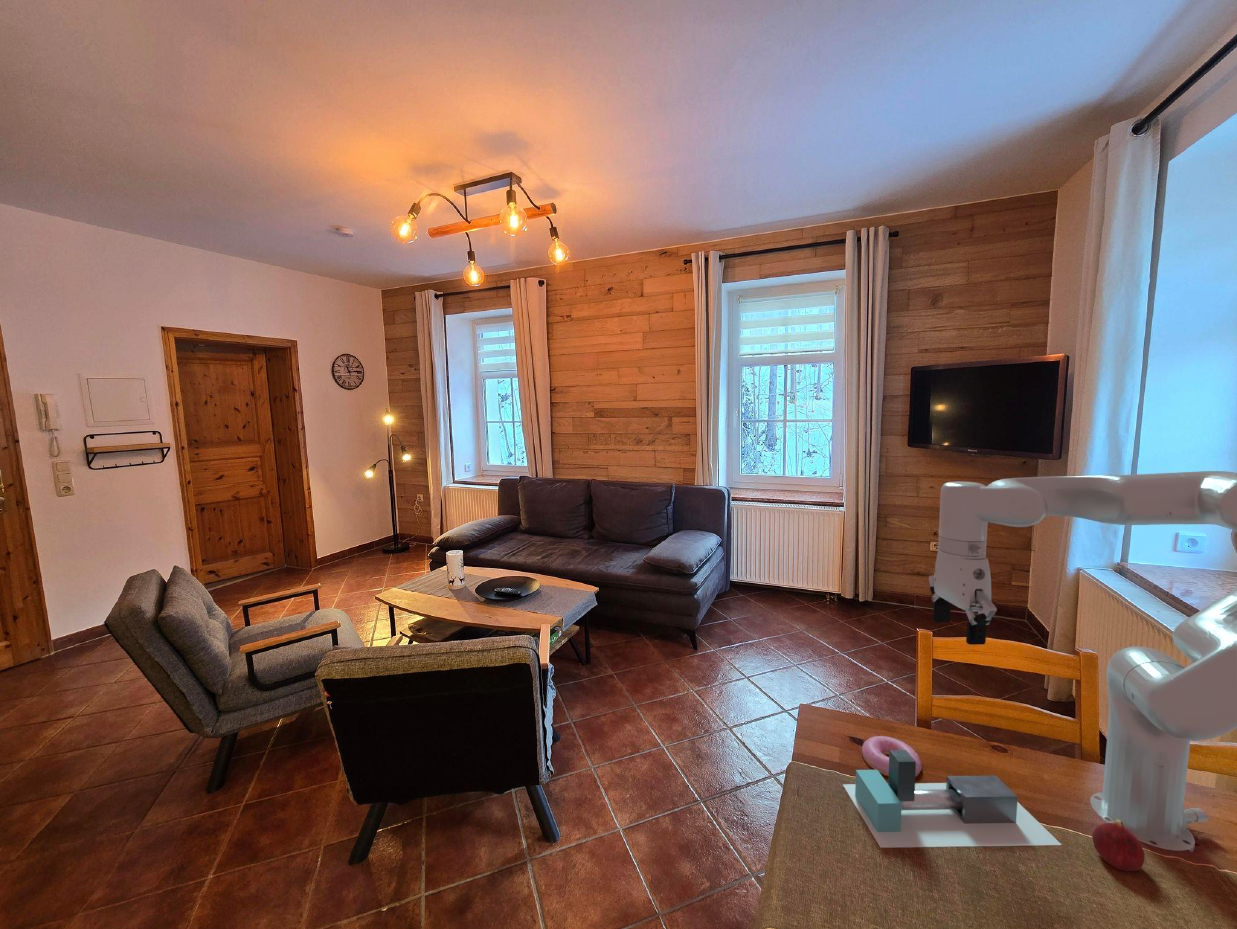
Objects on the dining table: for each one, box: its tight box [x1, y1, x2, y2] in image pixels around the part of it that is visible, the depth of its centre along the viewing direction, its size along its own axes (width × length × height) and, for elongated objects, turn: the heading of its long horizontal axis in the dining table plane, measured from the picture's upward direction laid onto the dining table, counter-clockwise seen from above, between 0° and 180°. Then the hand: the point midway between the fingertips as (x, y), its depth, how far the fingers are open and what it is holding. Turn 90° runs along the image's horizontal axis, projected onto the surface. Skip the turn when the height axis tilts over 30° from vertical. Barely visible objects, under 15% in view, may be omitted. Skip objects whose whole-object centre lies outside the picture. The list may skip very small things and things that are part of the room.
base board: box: [842, 782, 1063, 849], centre depth 88 cm, size 30×14×1 cm, turn 90°
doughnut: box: [861, 734, 923, 778], centre depth 101 cm, size 11×11×4 cm
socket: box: [855, 769, 902, 832], centre depth 88 cm, size 4×8×5 cm, turn 0°
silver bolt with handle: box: [887, 750, 963, 810], centre depth 88 cm, size 19×3×10 cm, turn 90°
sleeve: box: [945, 775, 1019, 824], centre depth 88 cm, size 9×5×5 cm, turn 90°
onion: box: [1091, 819, 1146, 872], centre depth 78 cm, size 6×6×8 cm
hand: (957, 632), depth 95 cm, fingers open, 9 cm apart
